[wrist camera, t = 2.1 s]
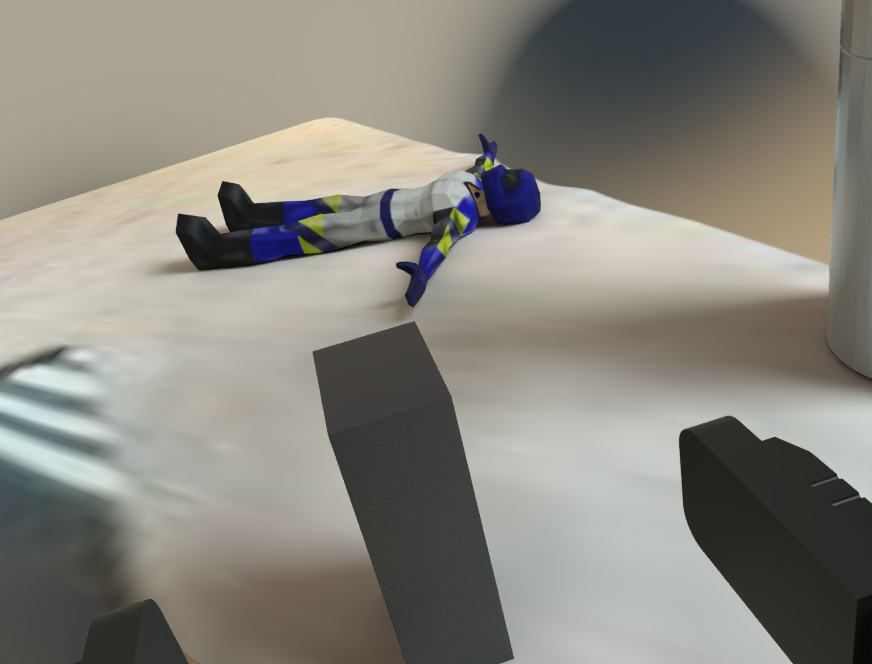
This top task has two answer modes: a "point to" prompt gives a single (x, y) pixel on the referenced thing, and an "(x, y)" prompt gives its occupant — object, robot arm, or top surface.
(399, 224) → the toy
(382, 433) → the dark grey tall block
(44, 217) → the top surface
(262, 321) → the top surface
